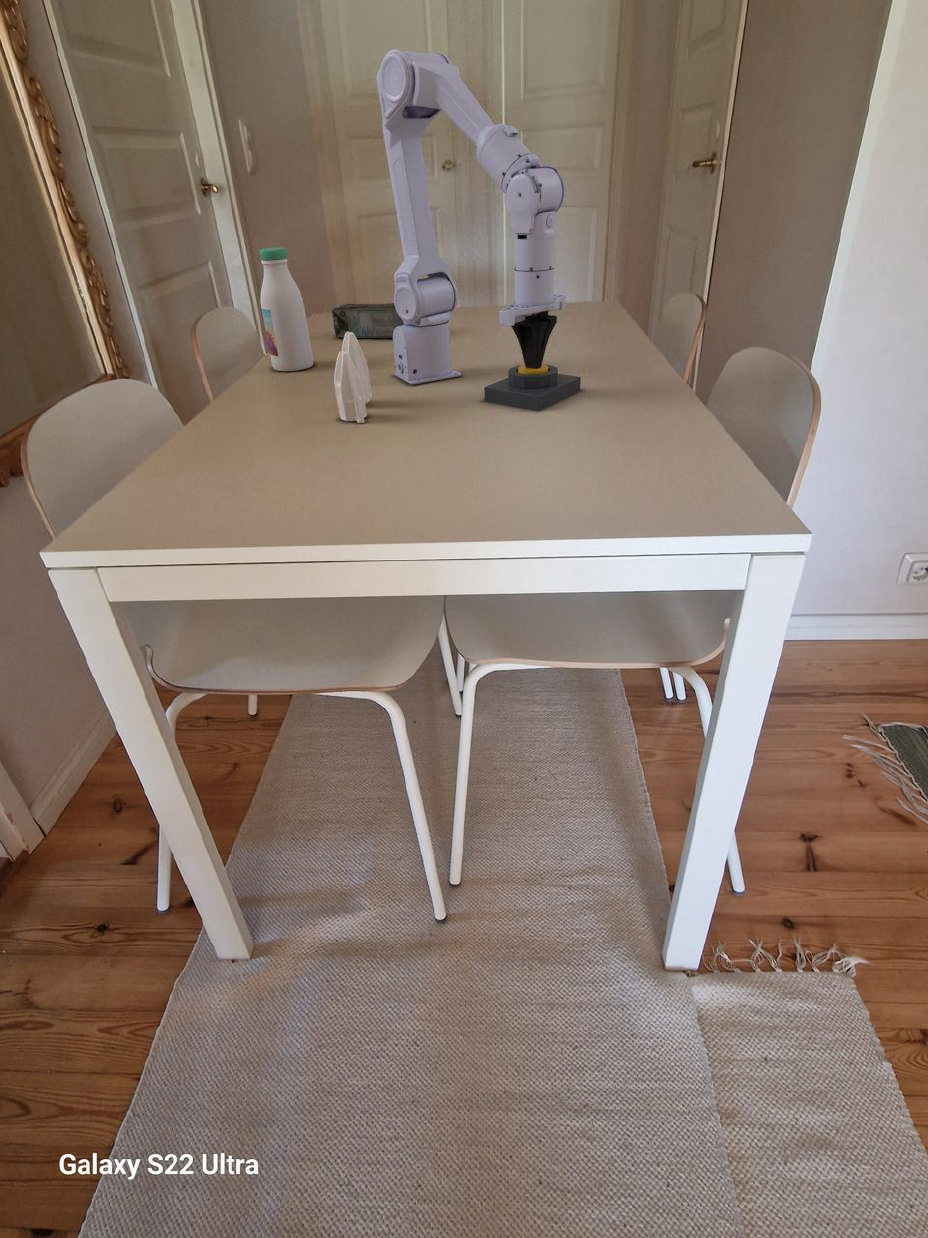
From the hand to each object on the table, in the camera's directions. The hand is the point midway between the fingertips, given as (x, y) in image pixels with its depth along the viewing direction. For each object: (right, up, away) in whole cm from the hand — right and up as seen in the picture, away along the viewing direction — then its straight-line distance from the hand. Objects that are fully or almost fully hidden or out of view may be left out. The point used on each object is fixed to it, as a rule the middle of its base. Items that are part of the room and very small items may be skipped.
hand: (533, 367), depth 105 cm
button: (0, -2, +1) cm, 2 cm away
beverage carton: (-29, +24, +46) cm, 59 cm away
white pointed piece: (-27, -7, 0) cm, 28 cm away
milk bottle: (-43, +9, +26) cm, 51 cm away
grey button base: (0, -4, +2) cm, 4 cm away
